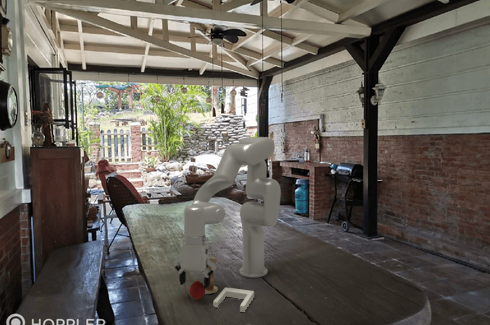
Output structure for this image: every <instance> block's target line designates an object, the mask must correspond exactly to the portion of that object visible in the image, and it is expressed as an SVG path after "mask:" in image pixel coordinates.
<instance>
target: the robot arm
mask: <svg viewBox="0 0 490 325" xmlns="http://www.w3.org/2000/svg"><path fill="white" fill-rule="evenodd" d="M275 147H276V146H275V142H274V140H273V139H272V138H270V137H268V136H265V137H264V136H256V137H255V136H247V137H242V138H240V139H239V141H238V143H233V144H229V145H228V146H227V147H226V148H225V150H224V151H223V154H222V156H221V158H220V161H219V164H218V165H217V167H216V170H215V172H214V175H212V177H210V178H208V180H207V181H206V182H205V183H203V185H201V187H200V188H199V189H198V191H197V192H196V193H195V196H194V199H193V201H192V202H191V205H188V206H186V207H185V208H184V211H183V214H184V215H183V217H184V218H183V221H184V223H183V226H184V227H183V229H184V231H183V232H184V234H183V235H184V236H183V240H184V242H182V246H181V250H180V251H181V252H180V257H179V258H176V259H173V261H172V264H173V265H174V268H175V270H176V271H177V274H179V285H180V286H182V285H184V284H185V283H186V282H187V281H186V280H187V279H186V278H187V273H186V271H189V272H197V273H198V272H199V273H202V274H203V275H204V278H203V285H204V288H205V289H206V288H207V287H208V286H209V285H210V275H212V274H213V273H215V272H216V270H217V268H218V265H217V264H216V263H213V262H211V261H210V259H209V257H210V252H209V251H210V250H209V245H208V243H207V242H209V237H207V236H206V225H216V224H219V223H221V222H222V221H223V220H224V219H225V216H226V210H225V208H224V207H223V206H222V205H220V204H218V203H214V202H210V201H211V198H212V197H213V196H214V195H215V194H217V193H218V192H220V191H222V190H225V189H227V188H229V187H231V186H233V185H234V184H235V182H236V179H237V176H238V173H239V172H240V169H241V167H242V166H247V171H246V182H245V183H246V184H245V194H246V196H247V197H248V198H251V199H254V200H259V201H263V202H262V203H261V202H257V201H246V202H244V203H243V204H242V205H241V206H240V209H239V217H240V222H241V228H242V229H241V230H242V231H241V232H242V234H241V235H242V266H241V267H240V268H239V269H238V270H239V275H241V276H243V277H245V278H261V277H265V276H266V275H267V274H268V268H267V267H265V233H264V229H263V227H266V228H272V227H274V226H275V225H276V224H277V222H278V220H279V214H280V207H281V206H280V204H281V194H282V193H281V186H280V183H279V182H278V181H277V180H276V179H273V178H268V177H267V166H268V165H267V163H266V161H265V160H267V159H268V158H270V157H271V156H272V155H273V154H274V152H275V150H276V149H275ZM209 266H210V267H211V268H212V269H211V271H210V270H209V269H208V268H209Z"/></svg>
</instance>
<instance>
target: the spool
mask: <svg viewBox="0 0 490 325" xmlns="http://www.w3.org/2000/svg"><path fill="white" fill-rule="evenodd" d="M209 259H210V261H211V262H213V263H214V264H216V263H217V261H218V260H217V257H215V256H209ZM208 269H209V270H210V271H211V269H212V268H211V267H210V266H209V268H208ZM214 273H215V272H214ZM214 273H213V274H212V275H210V285H209V286H208V287H207V288H206V289H205V293H214V292H217V291H219V290H218V289H219V288H218V287H217V286H215V285H214V284H215V283H214V281H215V280H214V279H215V278H214V277H215V276H214ZM217 293H218V292H217Z"/></svg>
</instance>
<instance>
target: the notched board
mask: <svg viewBox="0 0 490 325" xmlns="http://www.w3.org/2000/svg"><path fill="white" fill-rule="evenodd" d="M226 296H227V297H233V298H238V299H237V300H240V299H244V300H242V302H241V304H240V305H239V313H240V312H245V313H246V311H247V310H246V309H248V308H249V307H250V305H249V304H251V303H252V302H251V301H253V300H254V299H255V291H254V290H250V289H249V290H247V289H241V288H240V289H238V288H235V287H234V288H233V287H224V288H223V290H222V291H221V292H220V293H219V295H217V296H216V298H215V299H214V300H213V303H212V305H213V306H215V307H218V305H219V304H220V303H221V302H222V301H223V300H224V299H225V297H226ZM233 298H232V299H233ZM253 298H254V299H253ZM225 300H226V299H225ZM225 300H224V301H225ZM224 301H223V302H224ZM223 302H222V303H223ZM213 306H212V307H213ZM247 307H248V308H247ZM218 308H219V307H218ZM245 310H246V311H245Z"/></svg>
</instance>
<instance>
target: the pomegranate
mask: <svg viewBox="0 0 490 325" xmlns="http://www.w3.org/2000/svg"><path fill="white" fill-rule="evenodd" d="M188 292H189V295H190V296H191V298H193V299H194V300H195V299H196V300H195V301H199V300H200V299H202V298H203V297H204V296H205V288H204V283H202V282H201V281H199V279H197V278H196V279H195V281H194V282H193V283H191V285H190V287H189V291H188Z"/></svg>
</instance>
